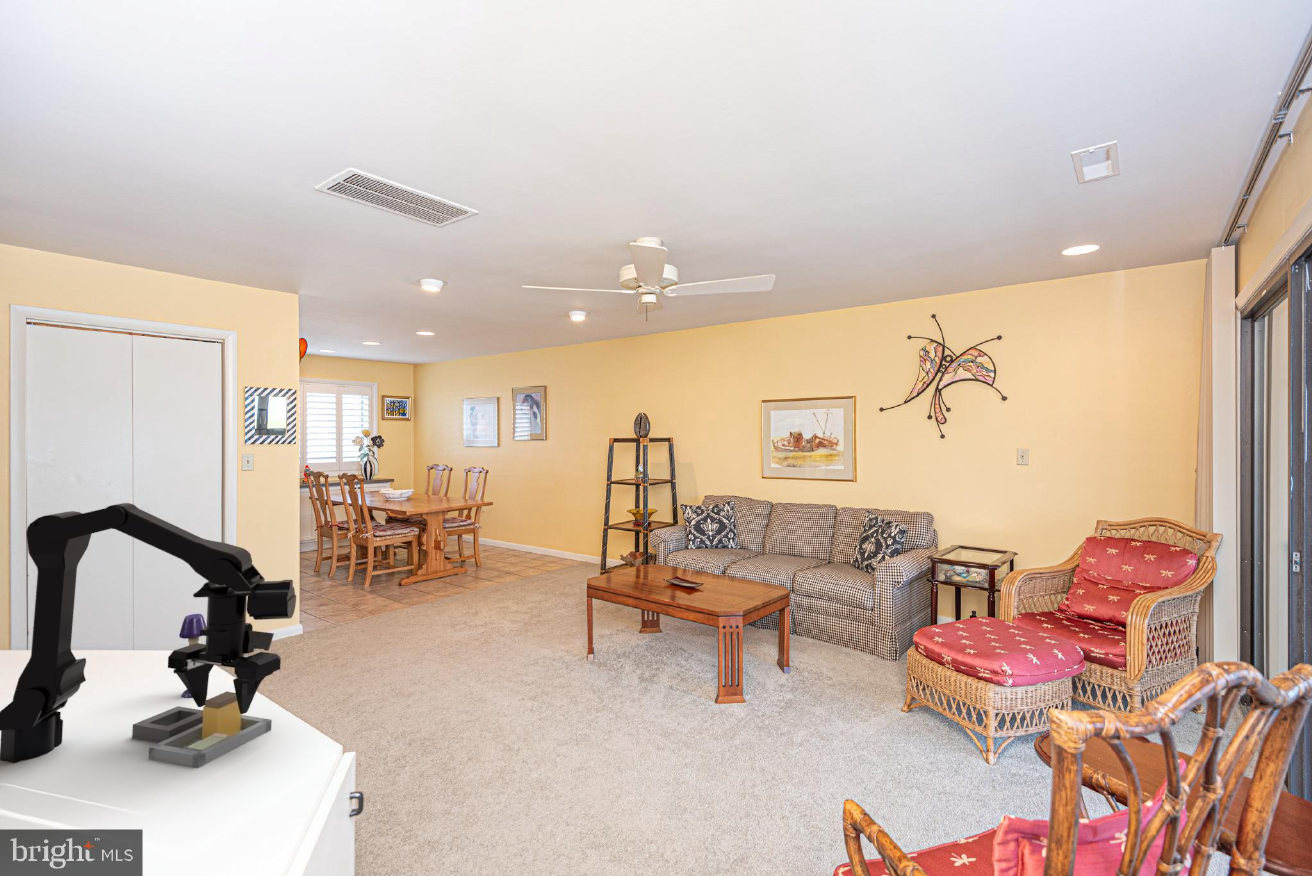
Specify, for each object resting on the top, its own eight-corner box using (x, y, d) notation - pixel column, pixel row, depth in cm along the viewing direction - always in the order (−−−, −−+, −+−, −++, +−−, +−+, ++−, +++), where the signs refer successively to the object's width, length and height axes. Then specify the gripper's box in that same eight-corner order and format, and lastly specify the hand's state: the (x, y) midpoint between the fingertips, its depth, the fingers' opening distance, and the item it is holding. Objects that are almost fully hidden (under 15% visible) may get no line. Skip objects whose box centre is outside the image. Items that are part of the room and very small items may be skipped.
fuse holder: (168, 748, 107) (169, 730, 107) (132, 741, 108) (132, 724, 108) (211, 728, 114) (212, 711, 114) (177, 722, 116) (177, 706, 116)
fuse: (201, 762, 102) (201, 749, 102) (186, 759, 102) (186, 746, 102) (229, 747, 107) (229, 735, 107) (214, 745, 107) (215, 732, 107)
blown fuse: (216, 744, 108) (218, 703, 108) (201, 741, 108) (203, 700, 108) (240, 732, 112) (241, 693, 112) (225, 730, 113) (227, 691, 113)
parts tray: (197, 772, 99) (198, 756, 100) (148, 762, 102) (149, 747, 102) (271, 733, 113) (271, 719, 113) (225, 726, 115) (226, 712, 115)
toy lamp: (181, 704, 124) (184, 619, 124) (173, 698, 127) (176, 615, 127) (209, 697, 128) (212, 615, 128) (201, 691, 131) (204, 610, 131)
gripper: (306, 614, 116) (302, 699, 116) (224, 604, 120) (221, 686, 120) (255, 631, 105) (251, 724, 105) (167, 620, 110) (163, 709, 109)
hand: (222, 709), depth 110 cm, fingers open, 9 cm apart
